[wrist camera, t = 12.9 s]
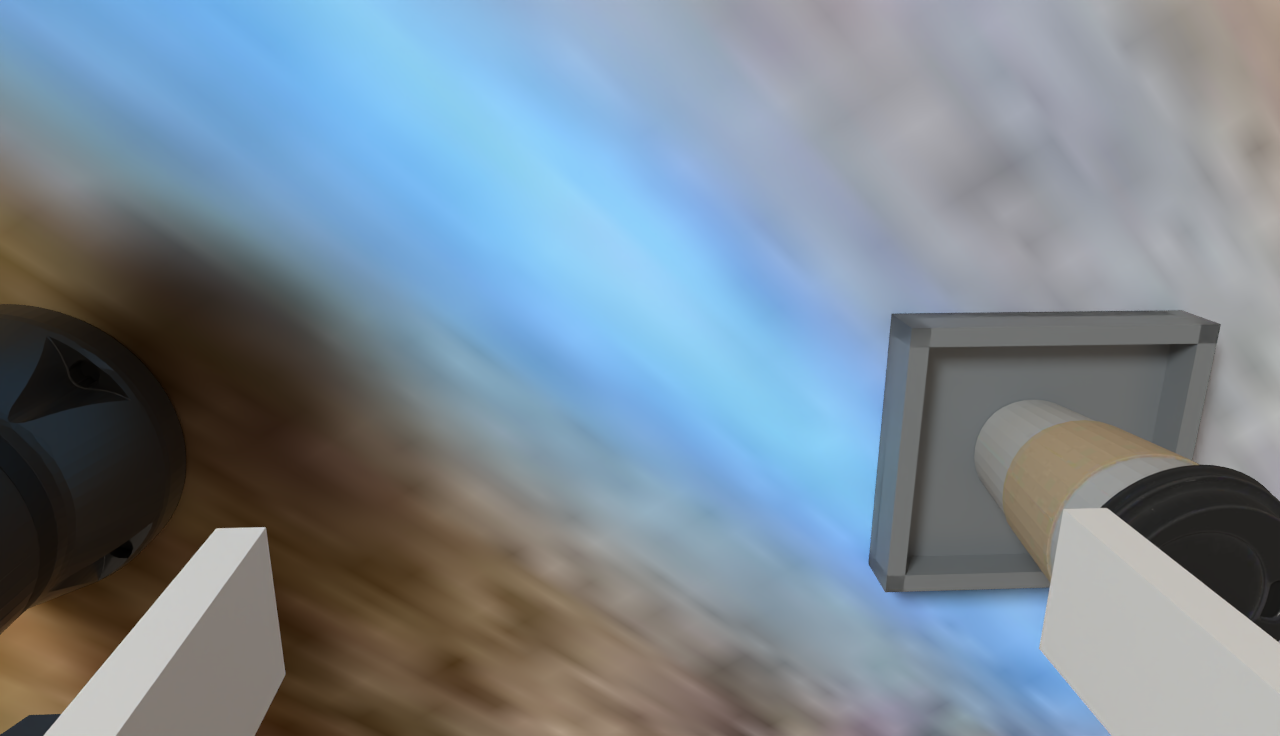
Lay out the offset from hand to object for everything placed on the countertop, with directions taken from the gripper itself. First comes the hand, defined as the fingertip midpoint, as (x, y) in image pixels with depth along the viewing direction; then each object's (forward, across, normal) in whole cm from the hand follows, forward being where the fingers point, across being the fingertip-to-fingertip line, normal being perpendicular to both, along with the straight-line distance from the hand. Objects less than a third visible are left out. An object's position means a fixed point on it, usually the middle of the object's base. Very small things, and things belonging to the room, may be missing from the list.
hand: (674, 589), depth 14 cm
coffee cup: (+30, +23, -10) cm, 39 cm away
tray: (+31, +23, -11) cm, 40 cm away
